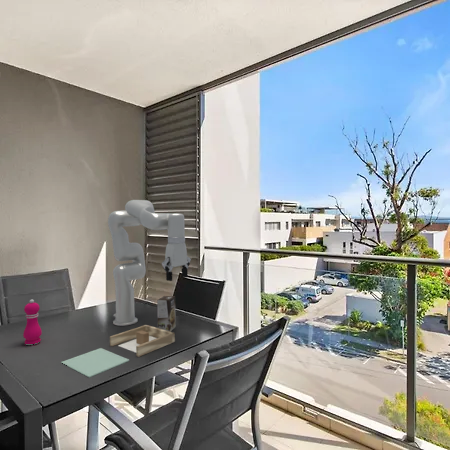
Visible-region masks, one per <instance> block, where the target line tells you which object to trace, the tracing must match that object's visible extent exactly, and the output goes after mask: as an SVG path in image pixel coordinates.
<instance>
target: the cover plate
mask: <svg viewBox="0 0 450 450" xmlns="http://www.w3.org/2000/svg"><path fill="white" fill-rule="evenodd" d="M154 339H156V337H153V336H149V332H146V331H142V330H141V331H138V332H136V338H134V339H131V340H128V341H126V342H123V343H120V344H117V346H118V347H120V348H122V349H125V350H128V351H130V352H133V353H136V346H138V345H141V344H143V343H146V342H149V341H151V340H154Z"/></svg>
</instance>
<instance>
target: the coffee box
mask: <svg viewBox="0 0 450 450" xmlns="http://www.w3.org/2000/svg"><path fill="white" fill-rule="evenodd" d="M156 306H157V307H156V309H157V328H159V329H163V330H166V331H169V332H173V330H174V329H176V296H175V295H163V296H162V297H159V299H157V305H156Z"/></svg>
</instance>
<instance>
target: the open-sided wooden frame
mask: <svg viewBox="0 0 450 450" xmlns="http://www.w3.org/2000/svg"><path fill="white" fill-rule="evenodd" d="M141 330H142V331H146V332H149V336H151V337H155V338H156V339H154V340H151V341H149V342H146V343H143V344H141V345H138V346H136V357H138V358H140V357H142V356H144V355H147V354H149V353H151V352H154V351H156V350H158V349H161V348H164V347H165V346H169V345H171V344H172V343H175V342H176V337H175V336H176V335H175V332H173V331H171V332H169V331H166V330H163V329H159V328H158V327H155V326H153V325H152V326H151V325H148V324H143V325H141V326H139V327H136V328H135V327H134V328H131V329H130V330H126V331H123V332H119V333H116V334H113V335H111V336H109V347H114V346H118V345H121V344H124V343H126V342H129V341H132V340H135V339H136V332H138V331H141Z"/></svg>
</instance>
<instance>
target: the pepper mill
mask: <svg viewBox="0 0 450 450" xmlns="http://www.w3.org/2000/svg"><path fill="white" fill-rule="evenodd" d="M23 309H24V310H23V311H24V313H25V318H26V325H25V328H24V330H23V333H22V334H23V335H22V336H23V338H24V339H25V340H24V345H25V344H35V343H38V342H40V341H41V342H42V339H41V335H42V334H43V333H42V328H41V325H40V324H39V320H38V317H39V311H40V305H39V303H37V302H35V300H34V299H29V301H28V303H27V304H26V305H25V306H24V308H23ZM41 342H40V343H41Z"/></svg>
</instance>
